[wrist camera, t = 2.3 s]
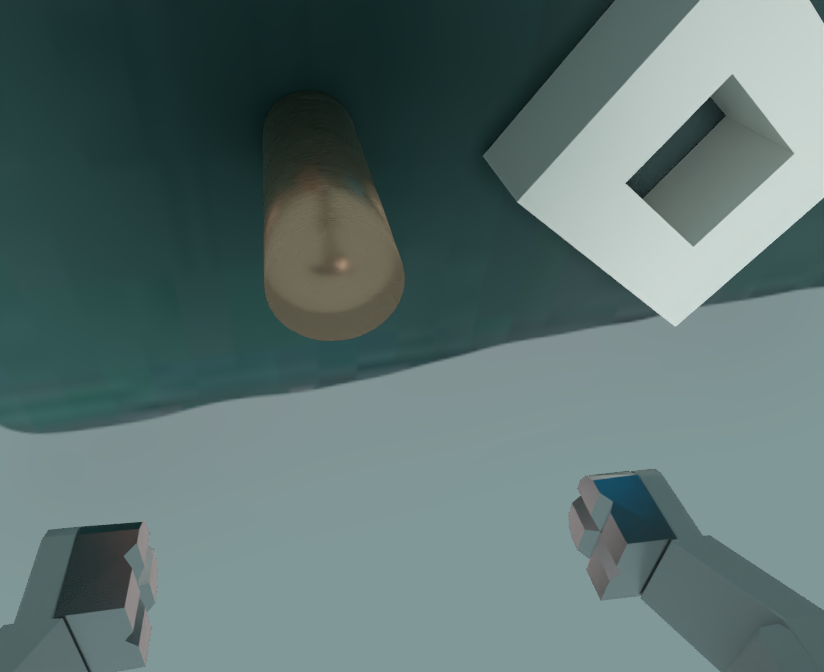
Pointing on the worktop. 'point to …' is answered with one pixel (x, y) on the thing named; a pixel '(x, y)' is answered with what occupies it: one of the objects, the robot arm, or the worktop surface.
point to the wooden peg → (324, 224)
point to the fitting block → (656, 122)
